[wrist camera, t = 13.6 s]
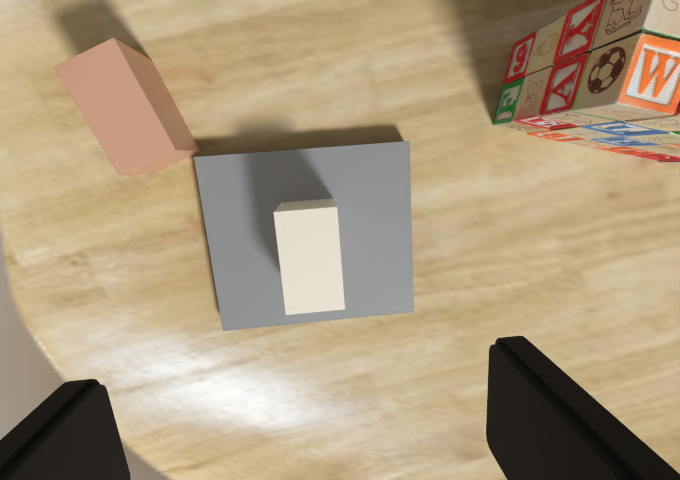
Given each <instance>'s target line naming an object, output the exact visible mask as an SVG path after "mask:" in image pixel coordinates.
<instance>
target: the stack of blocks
mask: <svg viewBox="0 0 680 480" xmlns="http://www.w3.org/2000/svg"><path fill="white" fill-rule="evenodd" d="M493 125H494V126H499V127H503V128H508V129H512V130H516V131H521V132H525V133H527V134H529V135H534V136H538V137H543V138H547V139H552V140H556V141H561V142H565V143H569V144H573V145H578V146H582V147H587V148H592V149H594V148H598V149H603V150H608V151H612V152H617V153H622V154H630V155H634V156H638V157H643V158H648V159H653V160H658V161H659V162H660V163H664V164H668V165H673V166H677V167H680V0H586V1H584V2H583V3H581V4H579V5H577V6H576V7H574V8H573V9H571V10H570V11H569V12H568V13H567V14H564V15H563V16H561V17H560V18H558V19H556V20H555V21H553V22H551V23H550V24H548V25H546V26H544V27H543V28H541V29H540V30H537V31H535V32H533V33H531V34H530V35H528V36H527V37H525V38H523V39H522V40H520V41H518V42H516V43H515V44H514V46H513V50H512V54H511V58H510V61H509V65H508V68H507V72H506V76H505V80H504V86H503V89H502V93H501V96H500V100H499V104H498V107H497V111H496V114H495V118H494V121H493Z"/></svg>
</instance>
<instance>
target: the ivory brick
mask: <svg viewBox="0 0 680 480" xmlns="http://www.w3.org/2000/svg"><path fill="white" fill-rule="evenodd" d="M274 220H275V229H276V237H277V246H278V254H279V262H280V271H281V279H282V287H283V296H284V304H285V312H286V315H292V314H302V313H313V312H323V311H333V310H343V309H345V303H344V289H343V276H342V263H341V250H340V237H339V224H338V211H337V205H336V203H335V201H334V199H333V198H329V199H317V200H305V201H293V202H281V203H280V205H279V206H278V207H277V208H276V210H275V211H274Z"/></svg>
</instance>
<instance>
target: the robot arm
mask: <svg viewBox="0 0 680 480" xmlns="http://www.w3.org/2000/svg"><path fill="white" fill-rule="evenodd" d="M486 437H487V442H488V445H489V448H490V450H491V452H492V454H493V456H494V457H495V459H496V461H497V463H498V464H499V466H500V468H501V469H502V471H503V473H504V475H505V476H506V478H507V480H680V474H679V473H678V472H677V471H675V470H674V469H673V468H672V467H671V466H670V465H669V464H668V463H666V462H665V461H664V460H663V459H662V458H661V457H660V456H658V455H657V454H656V453H655V452H654V451H653V450H652V449H651V448H649V447H648V446H647V445H646V444H645V443H644V442H643V441H641V440H640V439H639V438H638V437H637V436H636V435H635V434H634V433H632V432H631V431H630V430H629V429H628V428H627V427H626V426H625V425H623V424H622V423H621V422H620V421H619V420H618V419H617V418H615V417H614V416H613V415H612V414H611V413H610V412H609V411H608V410H606V409H605V408H604V407H603V406H602V405H601V404H600V403H598V402H597V401H596V400H595V399H594V398H593V397H592V396H591V395H589V394H588V393H587V392H586V391H585V390H584V389H583V388H581V387H580V386H579V385H578V384H577V383H576V382H575V381H574V380H572V379H571V378H570V377H569V376H568V375H567V374H566V373H564V372H563V371H562V370H561V369H560V368H559V367H558V366H557V365H555V364H554V363H553V362H552V361H551V360H550V359H549V358H548V357H546V356H545V355H544V354H543V353H542V352H541V351H540V350H538V349H537V348H536V347H535V346H534V345H533V344H532V343H531V342H529V341H528V340H527V339H526V338H525V337H523V336H513V337H503V338H498V339H497V340H496V342H495V344H494V345H491V346H490V349H489V371H488V398H487V425H486ZM0 480H130V472H129V469H128V465H127V461H126V457H125V454H124V450H123V447H122V443H121V439H120V436H119V432H118V428H117V425H116V421H115V418H114V414H113V410H112V407H111V403H110V399H109V396H108V392H107V389H106V387H105V386H104V385H100V383H99V382H98V381H97V380H95V379H87V380H77V381H69V382H65V383H64V384H62V385H61V386H60V387H59V388H58V389H57V390H55V391H54V392H53V393H52V394H51V395H50V396H49V397H48V398H47V399H46V400H45V401H43V402H42V403H41V404H40V405H39V406H38V407H37V408H36V409H34V410H33V411H32V412H31V413H30V414H29V415H28V416H27V417H26V418H24V419H23V420H22V421H21V422H20V423H19V424H18V425H17V426H16V427H15V428H13V430H11V431H10V432H9V433H8V434H7V435H6V436H5V437H4V438H2V439H1V440H0Z"/></svg>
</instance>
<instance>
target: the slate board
mask: <svg viewBox="0 0 680 480" xmlns="http://www.w3.org/2000/svg"><path fill="white" fill-rule="evenodd" d="M194 161H195V167H196V173H197V179H198V185H199V191H200V197H201V203H202V209H203V215H204V221H205V227H206V233H207V239H208V245H209V251H210V257H211V263H212V269H213V275H214V281H215V287H216V293H217V298H218V304H219V310H220V316H221V322H222V328H223V331H228V330H238V329H248V328H259V327H269V326H279V325H289V324H299V323H309V322H319V321H329V320H339V319H349V318H359V317H369V316H379V315H389V314H400V313H410V312H414V301H413V263H412V225H411V186H410V148H409V141H403V142H390V143H376V144H363V145H349V146H336V147H322V148H309V149H295V150H282V151H268V152H255V153H242V154H228V155H215V156H201V157H194ZM329 198H333V199H334V201H335V203H336V205H337V211H338V224H339V237H340V250H341V263H342V276H343V289H344V303H345V309H343V310H333V311H323V312H313V313H302V314H292V315H286V312H285V304H284V296H283V287H282V279H281V271H280V262H279V254H278V246H277V237H276V229H275V220H274V211H275V210H276V208H277V207H278V206H279V205H280V203H281V202H293V201H305V200H317V199H329Z"/></svg>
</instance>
